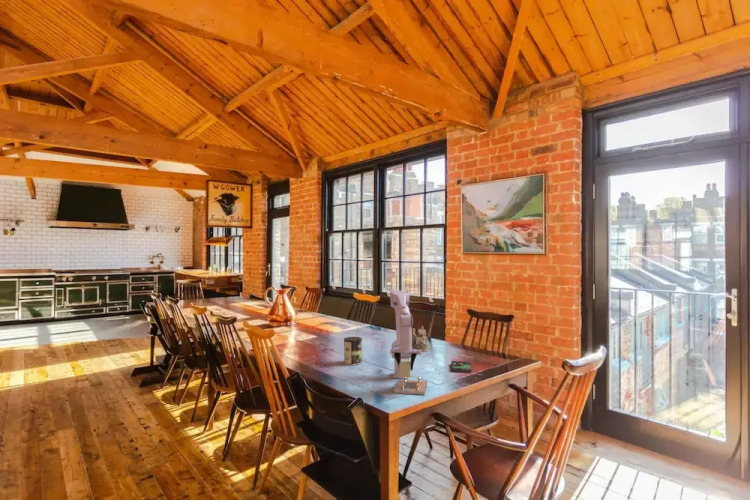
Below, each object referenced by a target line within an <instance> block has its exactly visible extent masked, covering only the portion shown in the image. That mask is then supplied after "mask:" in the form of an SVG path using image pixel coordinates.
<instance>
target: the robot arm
mask: <svg viewBox="0 0 750 500" xmlns="http://www.w3.org/2000/svg"><path fill="white" fill-rule="evenodd" d="M389 296H390V300H389V301H390V308H392V309H394V312H395V330H396V331H395V332H396V333H395V334H396V340H394V341H393V342H392V343H391V348H390V349H389V350H390V351H389V354H391V358H392V359H393V360H394V361H393V363H394V371H393V372H394V373H393V376H392V378H393V379H402V380H404V377H399V363H400V361H401V360H402V359H408V360H411V370H412V371H413V369H414V364H415V361H416V358H417V356H421V355H422V352H421V350H417V349H412V331H413V324H414V318H413V315H412V313H411V311H410V308H409V303H410V297H411V295H410V291H409V290H390V292H389ZM409 378H410V377H406V380H409Z"/></svg>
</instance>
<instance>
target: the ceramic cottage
mask: <svg viewBox="0 0 750 500" xmlns="http://www.w3.org/2000/svg"><path fill="white" fill-rule="evenodd" d="M426 330H427V329H424V325H421V327H420V329H418V332H417V333H418V334H416V328H413V327H412V349H417V350H421V353H426V351H427V352H429V351H430V350H429V349H430V345H429V343H428V342H429V340H428V337H427V331H426Z"/></svg>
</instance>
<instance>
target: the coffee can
mask: <svg viewBox="0 0 750 500" xmlns="http://www.w3.org/2000/svg"><path fill="white" fill-rule="evenodd" d="M362 341H363V339H362V337H361V336H360V337H359V336H348V337H344V338H343V344H344V347H343V350H344V351H343V352H344V355H343V356H344V357H343V361H344V362H343V363H344V365H347V366H359V365H361V364H362V363H363V362H362V361H363V359H362V358H363V357H362V355H363V353H362V352H363V351H362V349H363V348H362V346H363V345H362Z"/></svg>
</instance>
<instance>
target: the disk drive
mask: <svg viewBox="0 0 750 500" xmlns="http://www.w3.org/2000/svg"><path fill="white" fill-rule="evenodd" d="M450 364H451V372H452V373H465V374H466V373H472V366H471V362H470V361H469V360H466V361H465V360H458V361H457V360H451V362H450Z"/></svg>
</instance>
